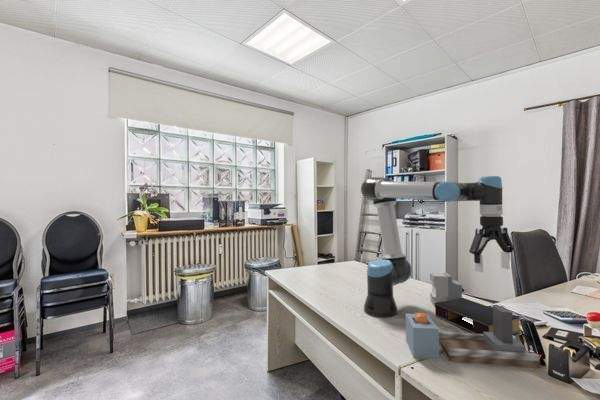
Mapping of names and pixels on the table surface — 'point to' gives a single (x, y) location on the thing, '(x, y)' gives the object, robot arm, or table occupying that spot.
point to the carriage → (502, 332)
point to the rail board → (480, 347)
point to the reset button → (420, 318)
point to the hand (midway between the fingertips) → (492, 270)
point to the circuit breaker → (444, 288)
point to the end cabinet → (422, 338)
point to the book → (470, 315)
